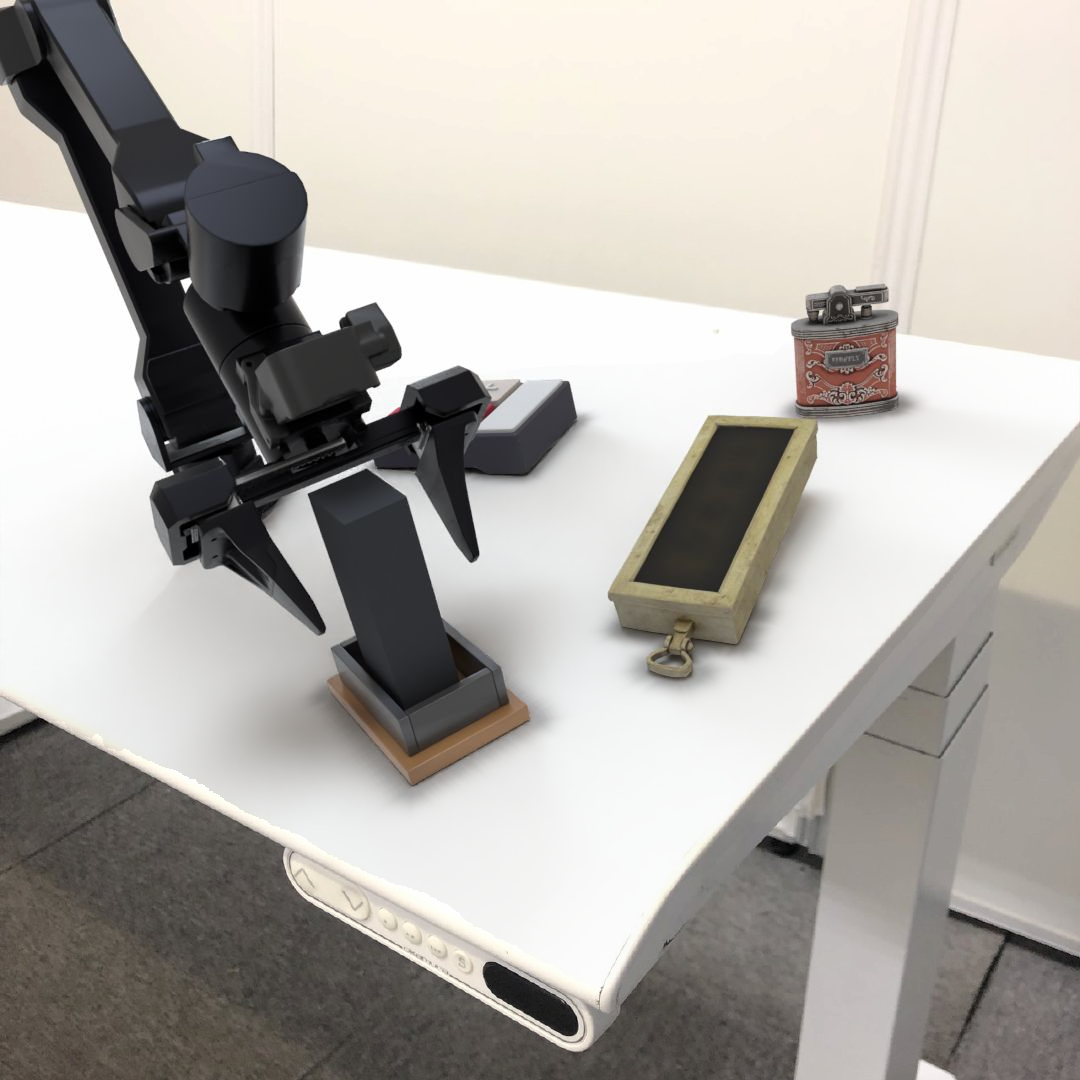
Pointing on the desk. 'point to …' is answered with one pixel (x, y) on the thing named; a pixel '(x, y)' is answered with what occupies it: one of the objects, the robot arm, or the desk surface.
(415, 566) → the back pad
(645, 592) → the box
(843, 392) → the lighter
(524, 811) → the desk surface
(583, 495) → the desk surface
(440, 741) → the grey tray
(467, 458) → the calculator
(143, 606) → the desk surface
